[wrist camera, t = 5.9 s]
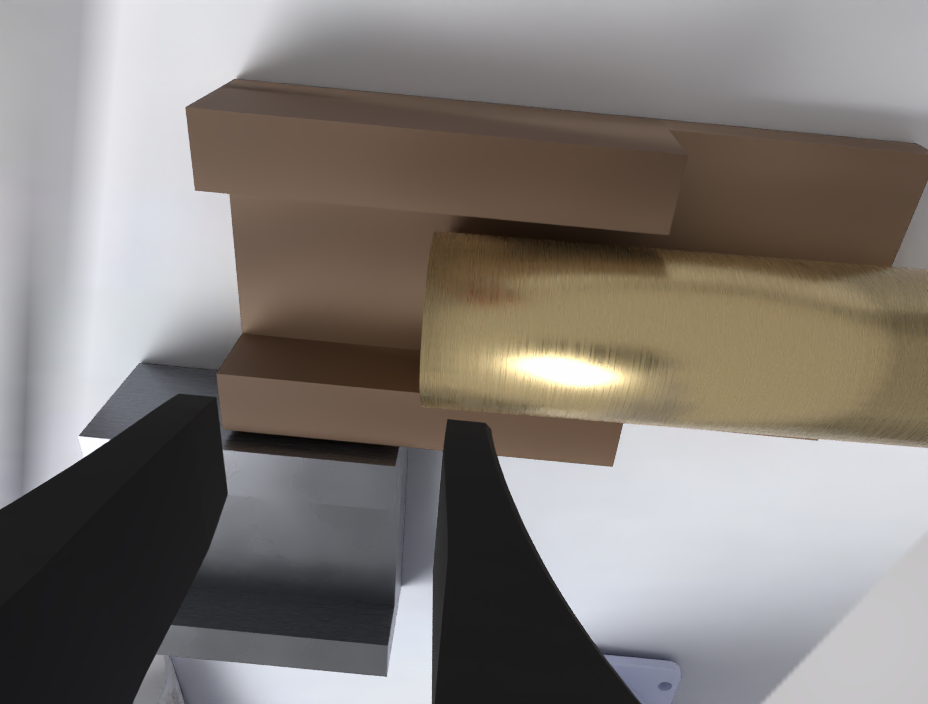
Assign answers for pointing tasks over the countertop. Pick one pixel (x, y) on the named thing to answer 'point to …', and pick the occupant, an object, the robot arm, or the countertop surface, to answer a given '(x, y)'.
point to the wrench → (160, 684)
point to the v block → (284, 541)
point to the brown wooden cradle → (485, 233)
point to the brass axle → (676, 339)
